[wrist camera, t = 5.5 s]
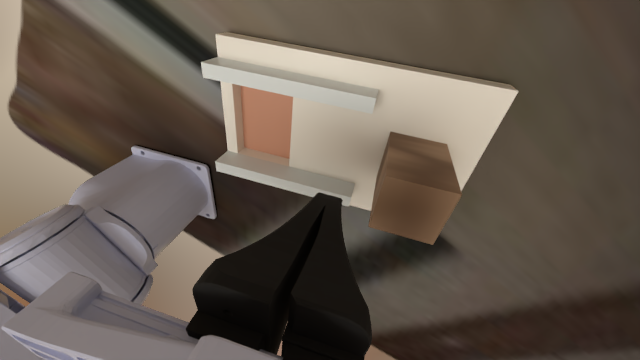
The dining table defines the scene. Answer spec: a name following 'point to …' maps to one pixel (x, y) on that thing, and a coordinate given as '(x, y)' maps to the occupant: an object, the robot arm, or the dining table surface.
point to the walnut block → (414, 188)
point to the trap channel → (341, 115)
